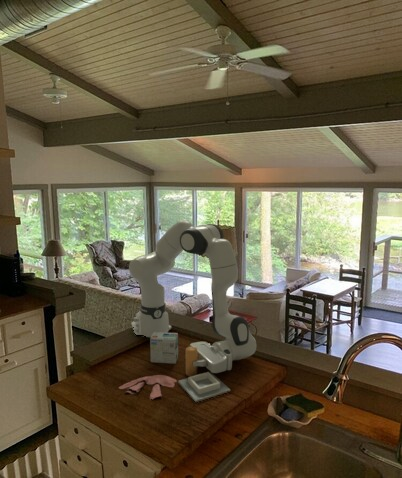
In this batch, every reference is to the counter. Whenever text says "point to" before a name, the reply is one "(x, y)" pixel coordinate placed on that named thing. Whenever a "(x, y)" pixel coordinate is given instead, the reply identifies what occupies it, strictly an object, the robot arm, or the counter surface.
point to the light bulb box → (164, 347)
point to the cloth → (150, 380)
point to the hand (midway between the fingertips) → (189, 360)
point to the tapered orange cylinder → (191, 356)
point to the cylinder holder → (203, 386)
